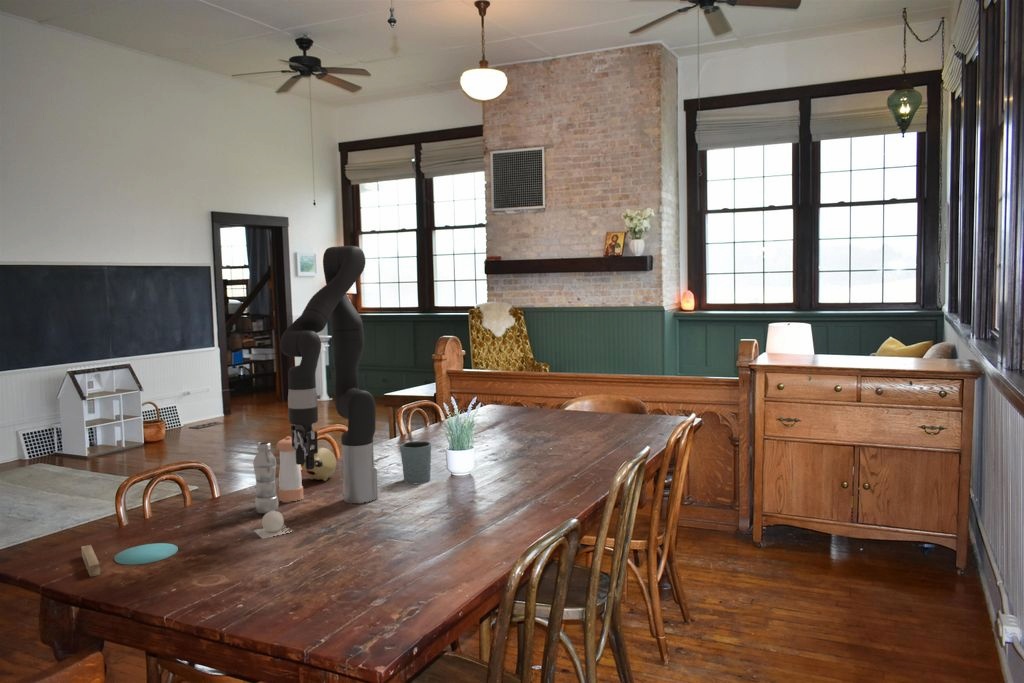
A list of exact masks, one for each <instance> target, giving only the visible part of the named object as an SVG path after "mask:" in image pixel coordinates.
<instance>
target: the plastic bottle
mask: <svg viewBox="0 0 1024 683" xmlns="http://www.w3.org/2000/svg"><path fill="white" fill-rule="evenodd" d="M256 445H257V446H256V448H257V450H256V451H258V452H257V453H256V455H255V457H254V458H253V462H252V463H253V465H252V466H253V470H254V477H255V481H256V482H255V486H256V487H255V489H256V491H255V500H254V506H255V511H256V512H257V513H258V514H266V513H268V512H270V511H277V510H278V509H279V504H280V503H279V502H280V501H279V496H278V491H277V485H276V474H277V473H276V471H277V470H276V469H277V458H276V456H275V455H274V454H273V452H272V451H271V450H272V447H271V445H272V444H271V442H269V441H261V442H257V444H256Z"/></svg>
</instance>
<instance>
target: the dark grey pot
mask: <svg viewBox="0 0 1024 683" xmlns="http://www.w3.org/2000/svg"><path fill="white" fill-rule="evenodd" d="M399 447H400V456H401V464H402V473H403V482H404V481H405V482H404V483H406V482H407V483H406V484H410V483H420V484H426V483H428V482H431V470H432V465H431V463H432V459H431V458H432V443H431V442H430V441H421V440H419V441H418V440H417V441H407V442H404V443H401V444H400V445H399ZM425 482H426V483H425Z"/></svg>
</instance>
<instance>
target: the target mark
mask: <svg viewBox="0 0 1024 683" xmlns="http://www.w3.org/2000/svg"><path fill="white" fill-rule="evenodd" d="M178 551H179V548H178V546H177V545H175V544H172V543H166V542H161V543H158V542H157V543H146V544H142V545H136V546H133V547H129V548H127V549H124V550H122V551H120V552H119V553H117V554H116V555H115V556H114V558H113V559H114V561H115V563H117V564H121V565H125V566H126V565H127V566H129V565H131V566H134V565H144V564H145V565H146V564H150V563H157V562H159V561H162V560H165V559H168V558H170V557H172V556H174V555H176V553H178Z"/></svg>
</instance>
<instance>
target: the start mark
mask: <svg viewBox="0 0 1024 683" xmlns="http://www.w3.org/2000/svg"><path fill="white" fill-rule="evenodd" d="M283 525H284V526H283V527H282V528H284V527H286V526H287V525H285V523H284V524H283ZM282 528H281V529H282ZM281 529H280V530H278V531H276V532H268V531H266V530H265V529H264V528H258V529H254V530H253V532H254V534H255V533H256V534H257V536H258V537H260V538H261V539H262V540H265V539H270V538H274V537H273V536H275V537H278V536H277V535H279V536H283V535H282V534H284V535H287V534H286V533H289V534H291V533H290V532H292V531H293V529H291V531H290V532H289V531H287V530H288V529H290V527H288V528H285V529H284V531H283V532H282V531H281ZM285 531H287V532H286V533H285Z"/></svg>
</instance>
